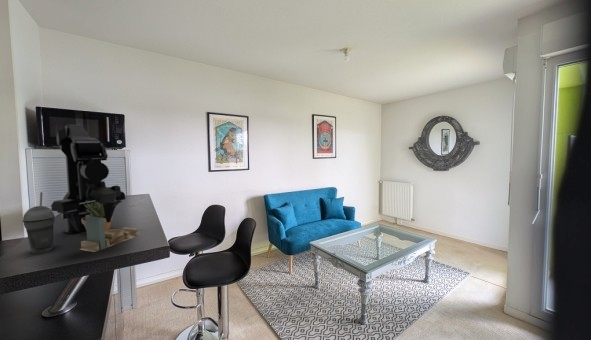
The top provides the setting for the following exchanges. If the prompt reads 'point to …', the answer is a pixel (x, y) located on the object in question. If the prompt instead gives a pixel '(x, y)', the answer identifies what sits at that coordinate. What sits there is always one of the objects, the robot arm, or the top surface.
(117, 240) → the walnut offcut
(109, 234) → the pine offcut
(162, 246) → the top surface
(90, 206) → the potted plant
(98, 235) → the teal rectangular block
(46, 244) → the beverage cup
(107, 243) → the birch rack
